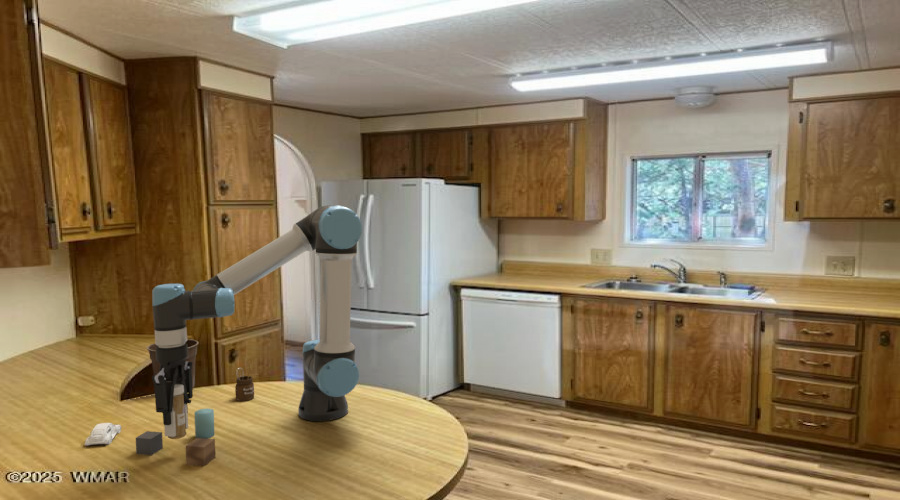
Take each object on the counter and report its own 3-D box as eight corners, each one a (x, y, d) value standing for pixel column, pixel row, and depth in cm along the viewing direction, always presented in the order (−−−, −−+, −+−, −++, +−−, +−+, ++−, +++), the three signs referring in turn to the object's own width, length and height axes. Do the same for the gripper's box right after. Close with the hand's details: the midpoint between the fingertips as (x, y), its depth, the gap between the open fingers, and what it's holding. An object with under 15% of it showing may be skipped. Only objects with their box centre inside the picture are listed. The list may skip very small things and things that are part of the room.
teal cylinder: (218, 432, 172) (217, 409, 171) (207, 439, 167) (207, 415, 166) (202, 431, 173) (201, 408, 172) (191, 438, 168) (190, 414, 167)
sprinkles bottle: (188, 437, 156) (185, 386, 155) (168, 441, 154) (165, 390, 153) (184, 431, 160) (181, 382, 159) (166, 435, 158) (163, 385, 156)
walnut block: (215, 458, 156) (214, 439, 155) (204, 466, 151) (203, 447, 150) (198, 456, 157) (197, 437, 156) (186, 464, 152) (185, 445, 151)
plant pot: (147, 399, 200) (145, 352, 198) (150, 385, 215) (148, 341, 213) (200, 393, 206) (198, 347, 205) (199, 380, 221) (198, 337, 220)
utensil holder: (231, 400, 199) (230, 364, 198) (244, 394, 205) (243, 360, 204) (245, 402, 197) (244, 366, 196) (258, 396, 203) (257, 361, 202)
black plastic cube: (162, 448, 162) (162, 432, 161) (151, 455, 157) (150, 439, 157) (147, 447, 162) (147, 431, 162) (136, 454, 158) (135, 437, 158)
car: (108, 447, 163) (107, 430, 162) (83, 449, 162) (82, 432, 161) (124, 430, 175) (123, 414, 174) (101, 432, 173) (100, 416, 173)
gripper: (179, 335, 164) (184, 418, 166) (134, 352, 147) (141, 444, 149) (204, 336, 162) (209, 420, 165) (162, 353, 145) (168, 446, 148)
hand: (176, 431), depth 157 cm, fingers closed on sprinkles bottle, 4 cm apart
